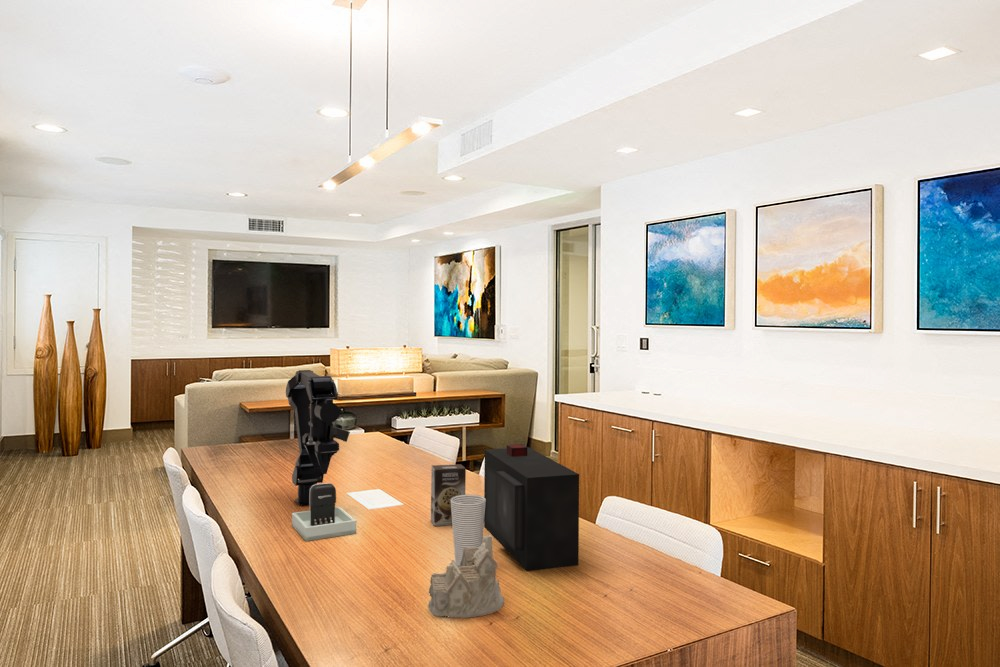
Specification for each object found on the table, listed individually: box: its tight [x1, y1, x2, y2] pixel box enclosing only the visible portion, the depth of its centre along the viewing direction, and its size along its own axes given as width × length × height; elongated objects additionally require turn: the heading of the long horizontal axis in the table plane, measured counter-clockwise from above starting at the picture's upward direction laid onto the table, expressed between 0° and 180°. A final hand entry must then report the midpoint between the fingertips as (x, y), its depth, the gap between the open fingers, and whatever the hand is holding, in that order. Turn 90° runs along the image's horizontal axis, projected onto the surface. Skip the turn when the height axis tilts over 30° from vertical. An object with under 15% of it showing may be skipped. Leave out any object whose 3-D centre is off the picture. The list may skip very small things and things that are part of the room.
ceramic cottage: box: [427, 534, 505, 619], centre depth 141 cm, size 16×16×15 cm
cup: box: [451, 494, 486, 568], centre depth 163 cm, size 8×8×16 cm
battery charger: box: [308, 482, 337, 526], centre depth 188 cm, size 7×4×11 cm, turn 117°
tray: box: [291, 506, 357, 542], centre depth 188 cm, size 16×14×4 cm
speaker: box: [483, 444, 580, 572], centre depth 176 cm, size 15×35×24 cm, turn 18°
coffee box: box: [430, 463, 467, 527], centre depth 195 cm, size 9×6×16 cm
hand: (320, 470), depth 202 cm, fingers open, 9 cm apart
